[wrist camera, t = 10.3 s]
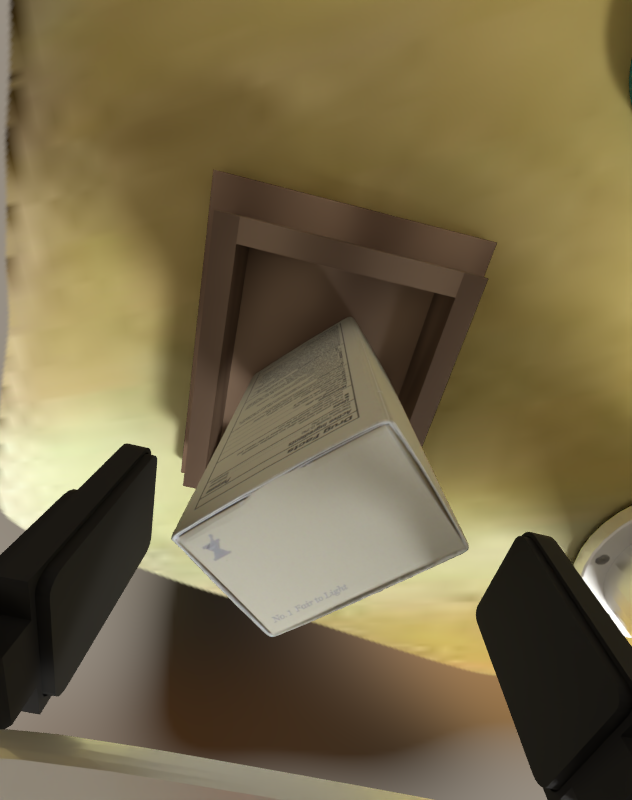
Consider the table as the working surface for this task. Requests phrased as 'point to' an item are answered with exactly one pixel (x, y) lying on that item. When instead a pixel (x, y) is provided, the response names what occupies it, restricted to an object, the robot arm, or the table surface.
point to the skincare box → (317, 489)
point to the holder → (323, 298)
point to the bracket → (630, 82)
